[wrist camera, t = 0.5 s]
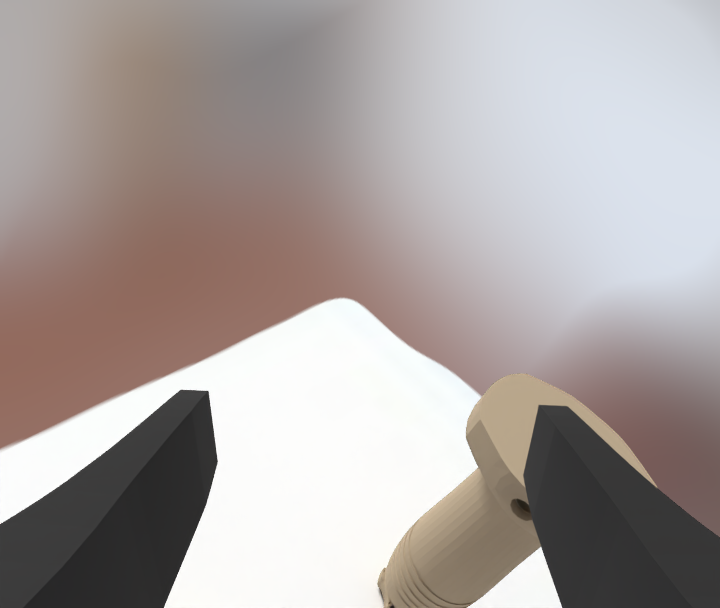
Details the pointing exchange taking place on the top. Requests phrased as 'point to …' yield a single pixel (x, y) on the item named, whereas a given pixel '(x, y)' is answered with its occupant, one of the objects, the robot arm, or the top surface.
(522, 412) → the handle
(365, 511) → the top surface
